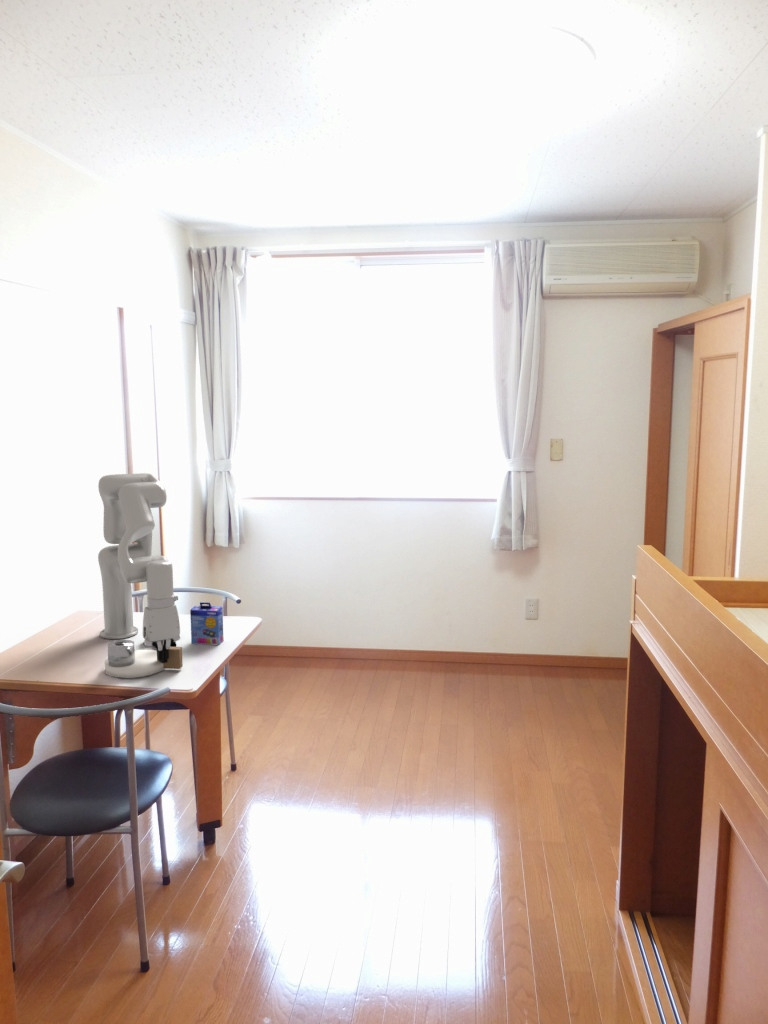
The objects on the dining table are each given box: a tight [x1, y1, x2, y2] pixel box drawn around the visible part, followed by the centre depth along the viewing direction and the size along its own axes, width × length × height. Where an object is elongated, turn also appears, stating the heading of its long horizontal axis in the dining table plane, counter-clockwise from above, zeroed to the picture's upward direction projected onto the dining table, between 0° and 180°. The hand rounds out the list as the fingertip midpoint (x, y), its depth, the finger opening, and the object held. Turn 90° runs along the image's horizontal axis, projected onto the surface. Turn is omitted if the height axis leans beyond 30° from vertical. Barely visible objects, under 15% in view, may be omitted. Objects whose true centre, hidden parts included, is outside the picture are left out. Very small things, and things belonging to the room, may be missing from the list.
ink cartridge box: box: [189, 601, 225, 645], centre depth 251 cm, size 10×6×14 cm, turn 85°
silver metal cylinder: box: [106, 639, 136, 667], centre depth 222 cm, size 8×8×6 cm
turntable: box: [104, 646, 184, 679], centre depth 226 cm, size 23×18×6 cm
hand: (163, 661), depth 222 cm, fingers closed
